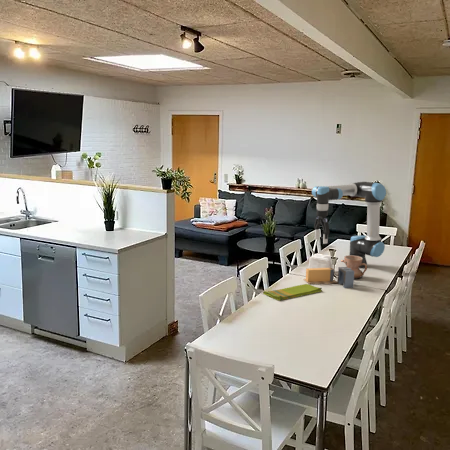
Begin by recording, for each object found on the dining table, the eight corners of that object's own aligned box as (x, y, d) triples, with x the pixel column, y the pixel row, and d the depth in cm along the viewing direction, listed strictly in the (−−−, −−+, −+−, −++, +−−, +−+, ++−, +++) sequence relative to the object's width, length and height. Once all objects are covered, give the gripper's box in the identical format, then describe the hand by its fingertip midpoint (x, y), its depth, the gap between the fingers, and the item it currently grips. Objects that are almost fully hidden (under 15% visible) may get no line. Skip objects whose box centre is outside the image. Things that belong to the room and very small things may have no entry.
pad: (331, 278, 316) (331, 277, 316) (337, 283, 306) (337, 282, 306) (303, 279, 312) (303, 278, 312) (309, 284, 302) (309, 283, 302)
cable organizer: (333, 271, 334) (334, 256, 332) (328, 275, 325) (329, 259, 323) (313, 268, 342) (314, 253, 339) (307, 271, 333) (308, 255, 331)
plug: (330, 279, 313) (331, 267, 311) (333, 280, 308) (334, 269, 307) (305, 280, 309) (306, 268, 308) (307, 281, 305) (308, 270, 303)
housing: (345, 282, 308) (347, 265, 306) (353, 287, 298) (354, 270, 296) (337, 283, 307) (338, 266, 304) (344, 288, 296) (345, 270, 294)
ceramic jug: (336, 277, 319) (338, 257, 316) (341, 272, 332) (343, 253, 329) (363, 282, 311) (365, 262, 308) (367, 276, 324) (369, 257, 321)
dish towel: (262, 294, 281) (262, 289, 281) (305, 285, 301) (305, 281, 300) (278, 302, 269) (278, 296, 268) (322, 292, 288) (323, 287, 288)
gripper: (309, 207, 316) (308, 237, 320) (324, 213, 292) (323, 245, 297) (319, 206, 318) (318, 236, 322) (335, 212, 294) (334, 245, 298)
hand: (321, 241), depth 309 cm, fingers open, 13 cm apart
